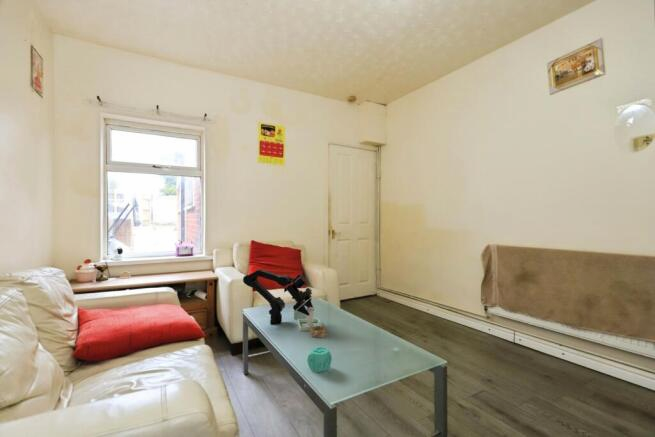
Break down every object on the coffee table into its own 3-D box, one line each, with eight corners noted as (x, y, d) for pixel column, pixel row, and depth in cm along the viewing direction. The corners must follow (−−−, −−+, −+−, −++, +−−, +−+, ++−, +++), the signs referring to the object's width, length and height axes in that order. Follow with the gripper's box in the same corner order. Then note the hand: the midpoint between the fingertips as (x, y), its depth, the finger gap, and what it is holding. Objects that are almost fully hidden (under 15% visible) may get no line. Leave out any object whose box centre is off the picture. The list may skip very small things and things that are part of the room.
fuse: (307, 327, 174) (308, 309, 174) (304, 325, 178) (305, 307, 178) (314, 326, 176) (315, 308, 176) (310, 324, 180) (311, 306, 180)
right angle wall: (312, 320, 190) (312, 309, 190) (293, 320, 190) (294, 308, 190) (313, 314, 202) (313, 304, 202) (296, 314, 202) (296, 303, 202)
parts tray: (299, 332, 169) (299, 327, 169) (297, 323, 182) (297, 319, 182) (322, 331, 172) (322, 326, 172) (318, 322, 185) (318, 318, 185)
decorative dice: (306, 369, 129) (307, 351, 129) (317, 361, 135) (317, 344, 135) (321, 374, 124) (322, 356, 124) (331, 367, 131) (332, 349, 131)
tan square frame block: (311, 339, 160) (312, 331, 160) (309, 332, 169) (309, 326, 168) (326, 338, 162) (326, 331, 162) (323, 332, 170) (323, 325, 170)
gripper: (298, 288, 169) (316, 309, 166) (309, 281, 187) (325, 300, 184) (285, 300, 171) (302, 321, 168) (297, 292, 189) (312, 311, 186)
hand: (311, 312), depth 177 cm, fingers open, 9 cm apart
